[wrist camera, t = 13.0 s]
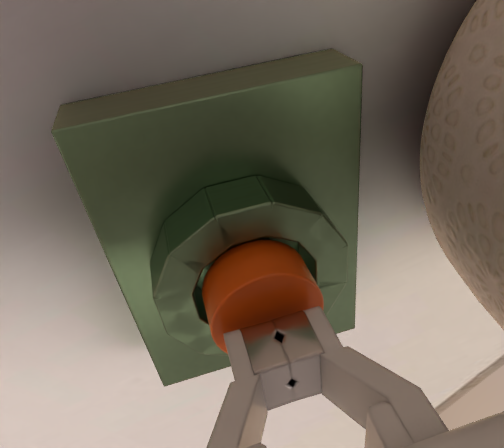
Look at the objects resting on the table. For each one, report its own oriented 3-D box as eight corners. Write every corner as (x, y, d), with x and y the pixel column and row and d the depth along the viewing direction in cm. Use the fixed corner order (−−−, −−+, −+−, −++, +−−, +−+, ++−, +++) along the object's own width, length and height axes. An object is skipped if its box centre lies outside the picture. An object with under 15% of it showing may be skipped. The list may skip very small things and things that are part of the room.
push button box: (59, 104, 13) (39, 159, 10) (332, 47, 14) (396, 80, 11) (159, 347, 20) (167, 426, 17) (335, 295, 21) (374, 359, 18)
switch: (190, 256, 13) (199, 295, 11) (301, 226, 13) (323, 260, 12) (212, 332, 15) (222, 372, 13) (307, 303, 15) (325, 340, 14)
